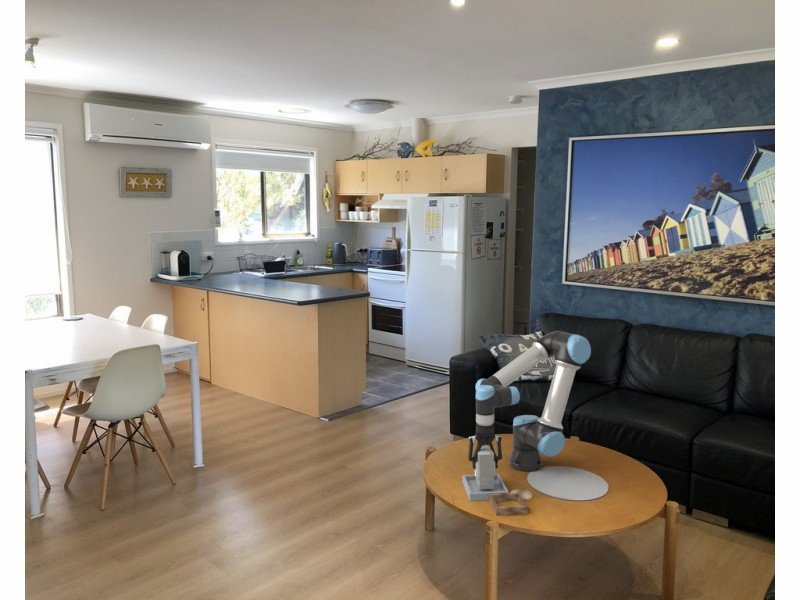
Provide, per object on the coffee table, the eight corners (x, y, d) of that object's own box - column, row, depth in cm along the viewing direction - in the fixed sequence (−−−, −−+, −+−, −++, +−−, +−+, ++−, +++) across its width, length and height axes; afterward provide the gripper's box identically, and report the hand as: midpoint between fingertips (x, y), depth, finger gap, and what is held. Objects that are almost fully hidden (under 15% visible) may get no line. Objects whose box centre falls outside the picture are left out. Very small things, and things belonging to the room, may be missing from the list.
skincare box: (475, 481, 260) (473, 446, 258) (492, 480, 261) (489, 444, 258) (479, 490, 252) (477, 454, 250) (496, 488, 252) (494, 452, 250)
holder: (519, 499, 247) (519, 492, 247) (527, 514, 235) (527, 506, 235) (489, 501, 247) (489, 494, 246) (496, 515, 235) (496, 508, 234)
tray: (498, 480, 266) (498, 473, 265) (508, 499, 248) (508, 492, 248) (462, 481, 265) (462, 475, 264) (469, 500, 247) (469, 493, 247)
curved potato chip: (529, 489, 256) (529, 488, 256) (535, 499, 247) (535, 498, 247) (508, 490, 256) (508, 489, 256) (513, 500, 247) (513, 499, 247)
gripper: (506, 418, 257) (505, 470, 260) (460, 420, 256) (460, 473, 259) (510, 424, 249) (510, 478, 253) (463, 426, 248) (463, 480, 251)
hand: (485, 475), depth 256 cm, fingers open, 7 cm apart
